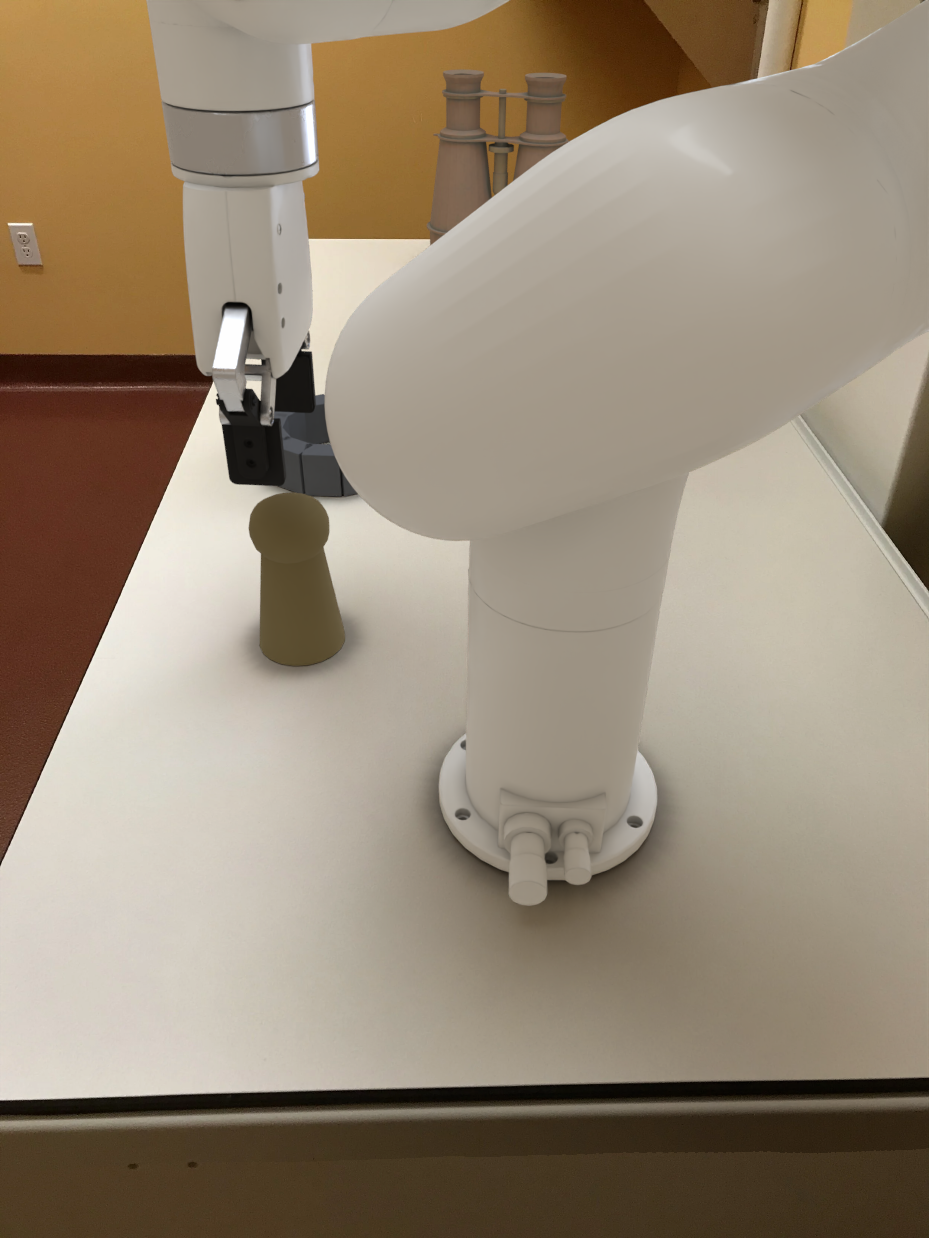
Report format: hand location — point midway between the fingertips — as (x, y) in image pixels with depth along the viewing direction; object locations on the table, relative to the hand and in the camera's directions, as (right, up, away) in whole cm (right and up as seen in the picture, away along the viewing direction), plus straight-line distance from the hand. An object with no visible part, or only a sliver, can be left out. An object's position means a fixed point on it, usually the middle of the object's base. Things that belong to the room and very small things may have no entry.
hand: (276, 444), depth 59 cm
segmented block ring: (0, +4, +30) cm, 31 cm away
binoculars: (+17, +38, +77) cm, 88 cm away
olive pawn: (0, -12, +9) cm, 15 cm away
